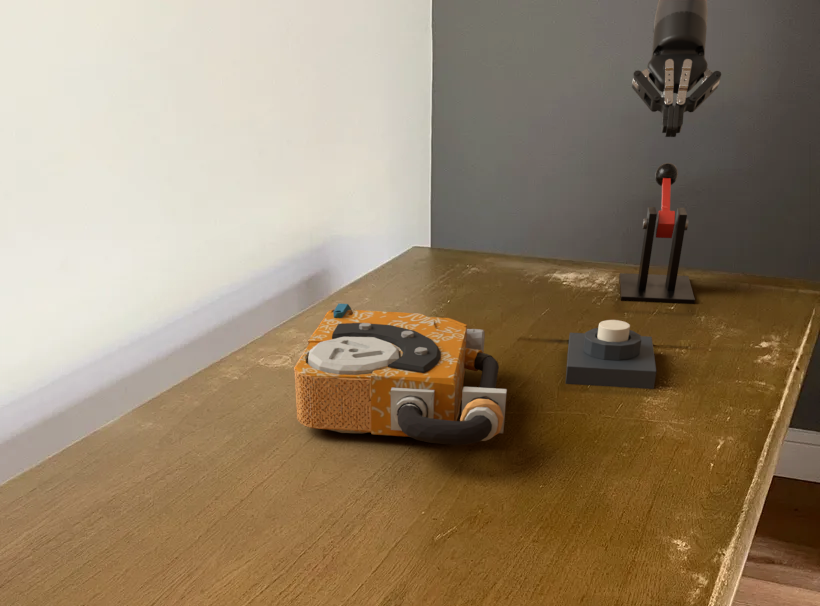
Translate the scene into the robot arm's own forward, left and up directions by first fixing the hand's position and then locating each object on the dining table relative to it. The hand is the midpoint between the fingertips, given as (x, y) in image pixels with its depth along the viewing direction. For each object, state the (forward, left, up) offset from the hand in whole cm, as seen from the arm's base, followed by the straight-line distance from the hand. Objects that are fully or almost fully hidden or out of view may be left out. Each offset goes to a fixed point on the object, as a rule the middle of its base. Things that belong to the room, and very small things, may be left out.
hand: (671, 133), depth 138 cm
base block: (+14, +41, -20) cm, 48 cm away
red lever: (+1, +7, -9) cm, 11 cm away
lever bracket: (+2, +12, -20) cm, 23 cm away
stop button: (+14, +41, -16) cm, 47 cm away
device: (+39, +54, -20) cm, 70 cm away
